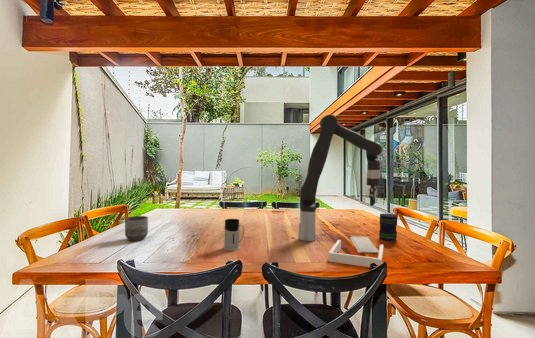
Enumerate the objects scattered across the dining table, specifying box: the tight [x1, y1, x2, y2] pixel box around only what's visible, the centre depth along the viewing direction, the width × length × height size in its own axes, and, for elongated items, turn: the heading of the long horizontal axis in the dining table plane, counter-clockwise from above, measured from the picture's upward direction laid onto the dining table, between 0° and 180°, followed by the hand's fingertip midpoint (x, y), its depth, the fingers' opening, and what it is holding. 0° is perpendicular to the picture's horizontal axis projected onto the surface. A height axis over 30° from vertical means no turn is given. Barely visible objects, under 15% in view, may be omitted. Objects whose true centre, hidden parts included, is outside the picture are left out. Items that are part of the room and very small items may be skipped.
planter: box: [124, 215, 149, 242], centre depth 172 cm, size 12×12×13 cm
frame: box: [327, 239, 384, 268], centre depth 145 cm, size 23×26×4 cm
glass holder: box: [223, 218, 245, 252], centre depth 155 cm, size 9×14×15 cm, turn 45°
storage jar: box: [378, 213, 398, 243], centre depth 178 cm, size 10×10×15 cm
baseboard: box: [349, 234, 379, 255], centre depth 166 cm, size 31×3×12 cm
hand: (372, 204), depth 176 cm, fingers open, 8 cm apart
